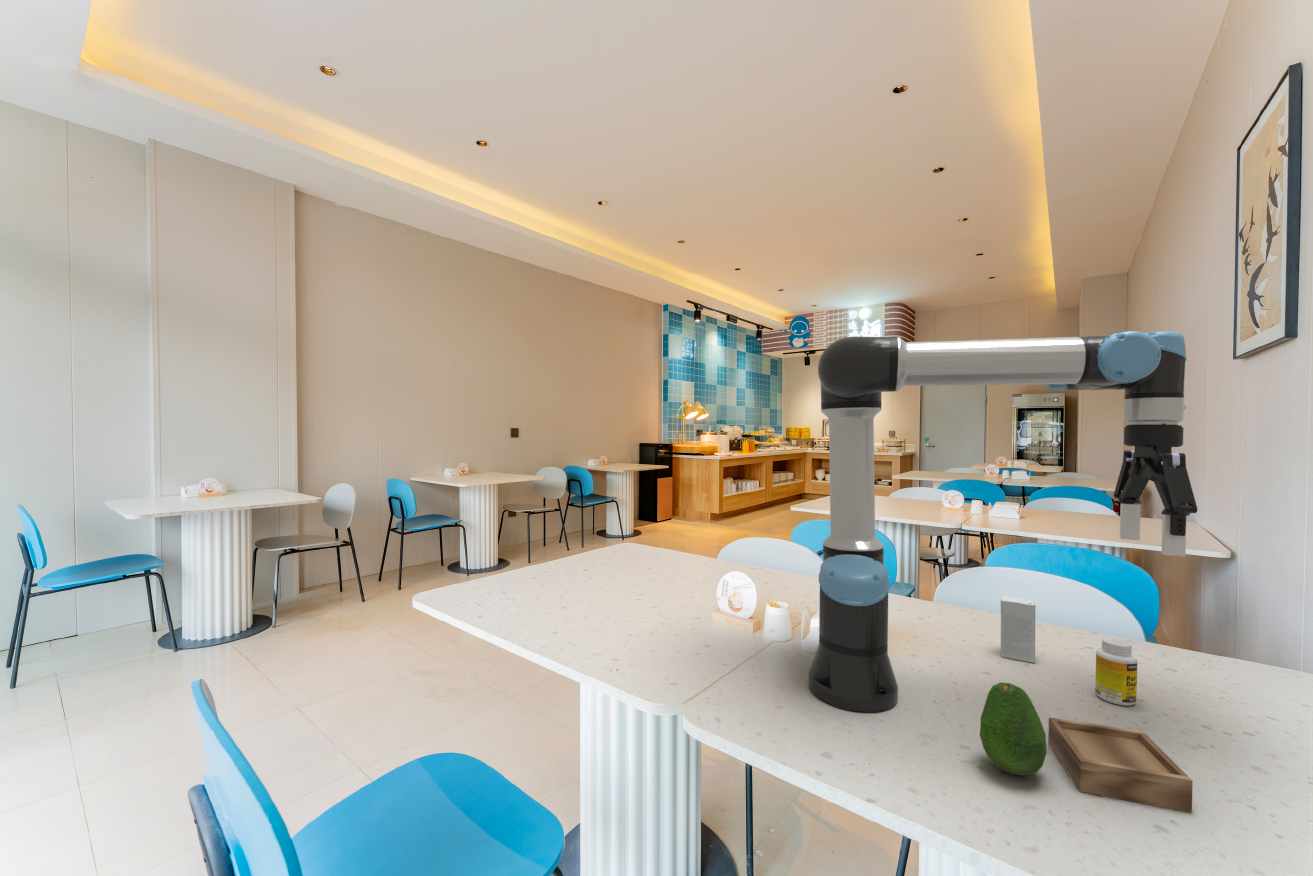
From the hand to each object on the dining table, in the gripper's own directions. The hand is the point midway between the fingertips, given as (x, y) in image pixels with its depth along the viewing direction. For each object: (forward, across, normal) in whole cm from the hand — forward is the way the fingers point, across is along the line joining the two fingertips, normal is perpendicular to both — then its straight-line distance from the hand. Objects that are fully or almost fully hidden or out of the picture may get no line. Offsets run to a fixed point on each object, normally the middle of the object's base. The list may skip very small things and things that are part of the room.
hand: (1149, 547), depth 93 cm
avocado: (+28, -29, +28) cm, 49 cm away
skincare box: (+28, +16, +15) cm, 35 cm away
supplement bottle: (+28, +1, +4) cm, 28 cm away
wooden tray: (+28, -25, +15) cm, 40 cm away
